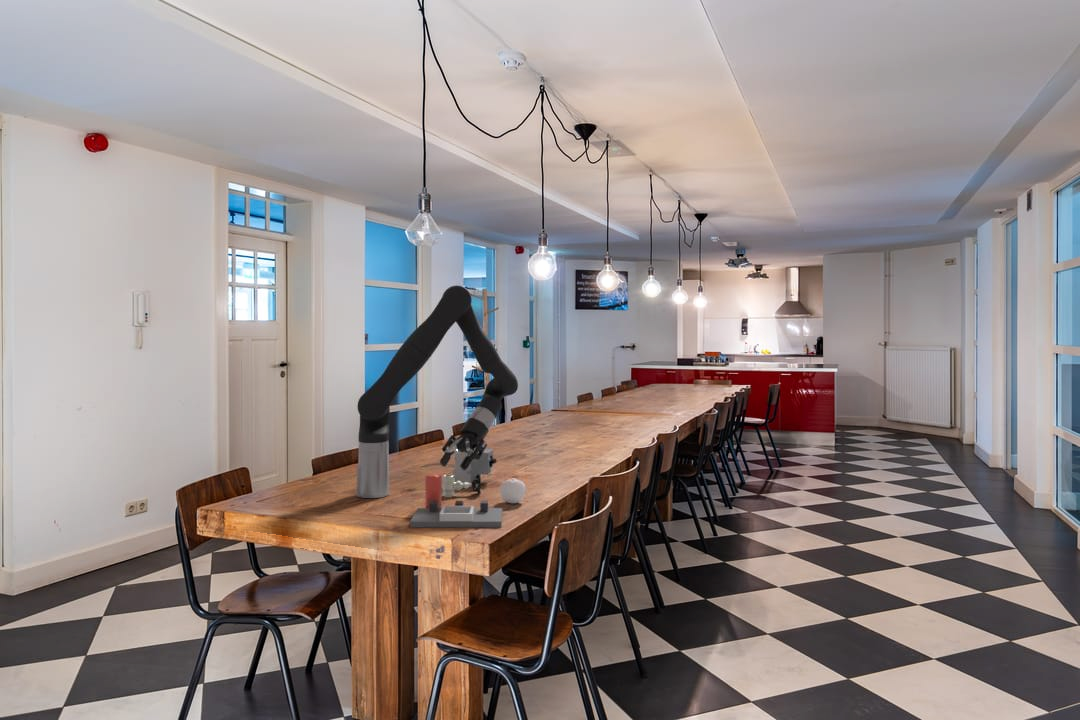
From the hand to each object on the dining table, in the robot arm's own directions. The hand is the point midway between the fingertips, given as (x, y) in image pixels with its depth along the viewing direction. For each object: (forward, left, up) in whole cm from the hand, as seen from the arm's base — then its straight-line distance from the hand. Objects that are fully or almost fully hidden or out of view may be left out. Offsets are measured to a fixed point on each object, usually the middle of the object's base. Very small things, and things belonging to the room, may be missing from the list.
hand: (452, 466), depth 198 cm
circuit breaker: (+5, +31, -12) cm, 34 cm away
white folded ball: (+18, +2, -12) cm, 22 cm away
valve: (+2, +12, -12) cm, 17 cm away
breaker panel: (+3, -17, -11) cm, 21 cm away
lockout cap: (-5, -6, -11) cm, 14 cm away
